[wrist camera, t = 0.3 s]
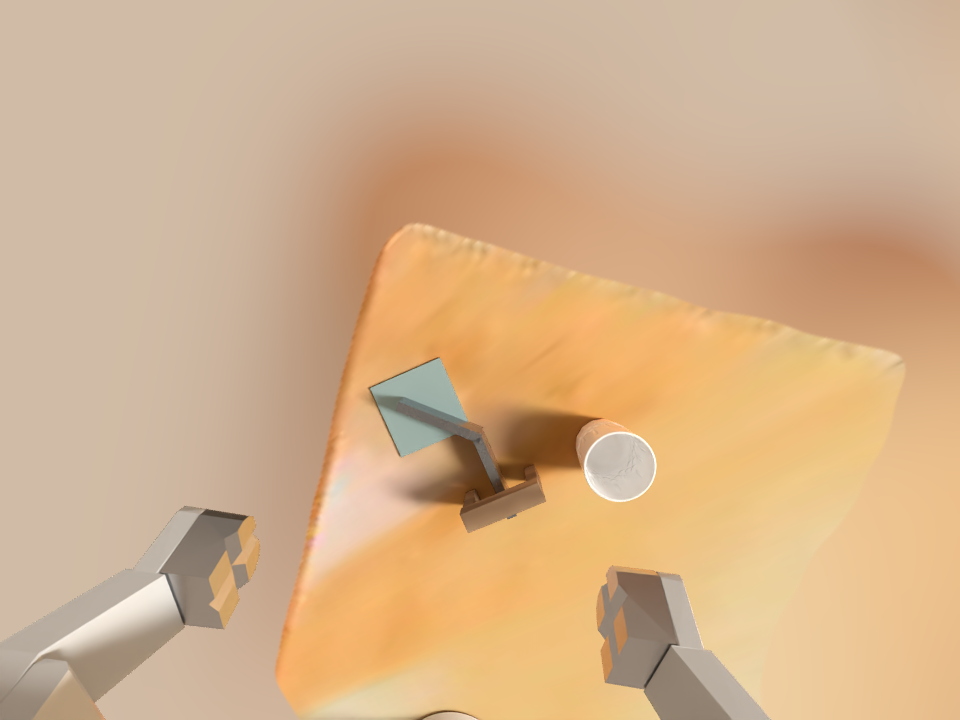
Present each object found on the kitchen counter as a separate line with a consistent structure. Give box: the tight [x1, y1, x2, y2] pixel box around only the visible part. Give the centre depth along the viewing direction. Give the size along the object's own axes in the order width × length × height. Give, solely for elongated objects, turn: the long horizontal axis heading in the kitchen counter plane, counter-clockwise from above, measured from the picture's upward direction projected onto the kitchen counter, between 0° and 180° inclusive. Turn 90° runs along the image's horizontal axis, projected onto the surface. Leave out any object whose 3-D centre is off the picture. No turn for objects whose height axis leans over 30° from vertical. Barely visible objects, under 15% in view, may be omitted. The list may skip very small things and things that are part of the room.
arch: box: [460, 465, 546, 533], centre depth 61 cm, size 2×10×8 cm, turn 114°
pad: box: [370, 358, 468, 457], centre depth 64 cm, size 10×10×1 cm
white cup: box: [576, 419, 656, 502], centre depth 59 cm, size 8×8×10 cm
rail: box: [395, 397, 517, 519], centre depth 63 cm, size 19×9×4 cm, turn 24°
